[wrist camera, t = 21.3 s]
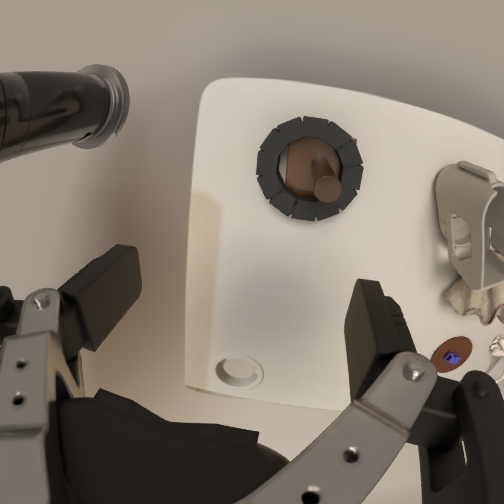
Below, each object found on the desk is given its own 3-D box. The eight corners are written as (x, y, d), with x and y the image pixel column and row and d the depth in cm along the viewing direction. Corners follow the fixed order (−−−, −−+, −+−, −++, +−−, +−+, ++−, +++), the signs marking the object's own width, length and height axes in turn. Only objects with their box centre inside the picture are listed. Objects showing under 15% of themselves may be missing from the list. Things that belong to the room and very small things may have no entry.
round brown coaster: (449, 375, 41) (451, 381, 40) (421, 364, 41) (423, 371, 39) (479, 344, 37) (482, 350, 36) (453, 330, 37) (456, 336, 36)
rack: (284, 190, 33) (273, 229, 22) (290, 128, 30) (282, 133, 19) (345, 198, 32) (365, 242, 21) (354, 138, 29) (383, 149, 18)
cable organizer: (438, 255, 33) (478, 309, 22) (425, 160, 28) (478, 184, 18) (479, 243, 31) (525, 290, 20) (470, 150, 27) (530, 171, 16)
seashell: (506, 302, 33) (534, 341, 24) (436, 297, 35) (462, 344, 26) (529, 244, 29) (566, 276, 20) (459, 228, 31) (497, 264, 22)
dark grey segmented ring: (256, 205, 33) (252, 212, 31) (264, 112, 28) (261, 111, 26) (349, 219, 32) (352, 227, 30) (364, 126, 27) (369, 127, 25)
